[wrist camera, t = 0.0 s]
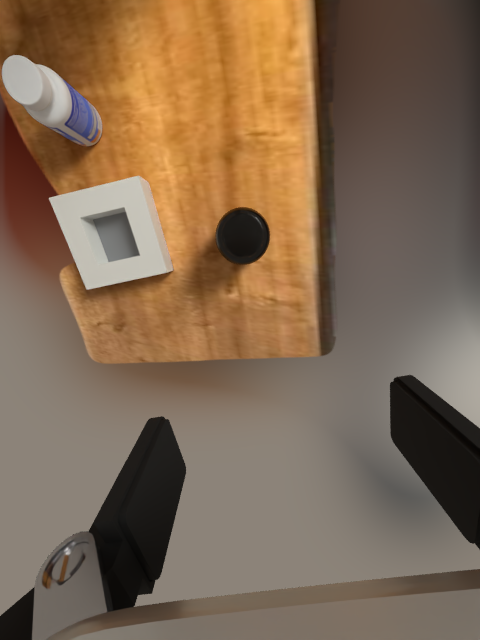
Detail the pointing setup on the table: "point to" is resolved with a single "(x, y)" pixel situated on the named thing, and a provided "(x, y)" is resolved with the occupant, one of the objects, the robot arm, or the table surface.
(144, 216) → the housing
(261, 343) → the table surface
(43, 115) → the pill bottle
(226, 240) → the supplement bottle
